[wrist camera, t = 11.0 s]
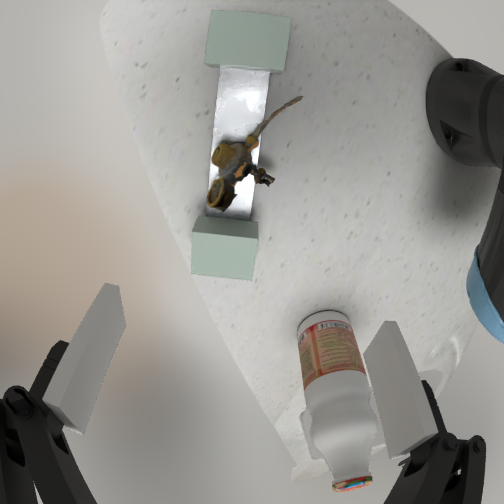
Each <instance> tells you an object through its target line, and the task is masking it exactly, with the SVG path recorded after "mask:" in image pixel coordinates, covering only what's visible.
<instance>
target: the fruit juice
mask: <svg viewBox="0 0 504 504" xmlns="http://www.w3.org/2000/svg"><path fill="white" fill-rule="evenodd" d="M297 340H298V347H299V354H300V362H301V370H302V378H303V386H304V396H305V402H306V406H307V410H308V412H309V413H310V415H311V417H312V422H311V427H310V437H311V441H312V444H313V445H314V447H315V448H316V449H317V450H318V451H319V452H320V453H321V455H322V456H323V458H324V460H325V461H326V463H327V465H328V467H329V469H330V471H331V472H332V474H333V476H334V480H333V482H332V483H333V485H332V487H333V491H334V492H345V491H349V490H355V489H358V488H362V487H365V486H367V485H370V484H371V483H372V476H371V473H370V472H369V471H368V465H369V461H370V455H371V450H372V444H373V440H374V437H375V435H376V432H377V428H378V422H377V417H376V414H375V413H374V411H373V409H372V408H371V406H370V404H369V400H370V387H369V382H368V379H367V375H366V372H365V369H364V365H363V362H362V359H361V355H360V352H359V349H358V345H357V342H356V339H355V336H354V333H353V330H352V327H351V324H350V322H349V320H348V319H347V317H346V316H344V315H343V314H341V313H339V312H335V311H324V312H319V313H316V314H314V315H311V316H310V317H308V318H307V319H305V320H304V321H303V322H302V323H301V325H300V327H299V329H298V333H297Z"/></svg>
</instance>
